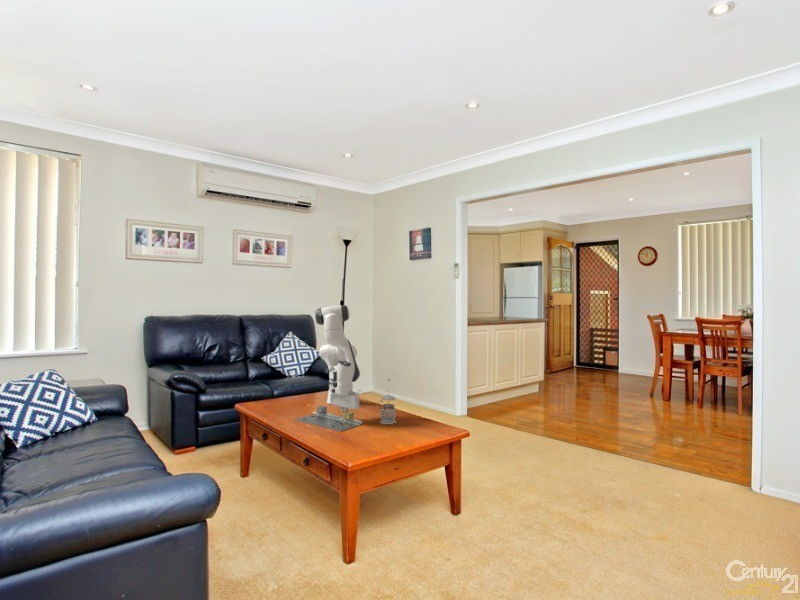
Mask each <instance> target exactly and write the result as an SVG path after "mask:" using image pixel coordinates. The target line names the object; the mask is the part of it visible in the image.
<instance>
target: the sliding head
mask: <svg viewBox="0 0 800 600" xmlns="http://www.w3.org/2000/svg"><path fill="white" fill-rule="evenodd" d="M343 417H344V418H342V419H340V421H341V420H344V419H348V420H350V419H355V412H354V411H349V410H348V412H344V415H343Z"/></svg>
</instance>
